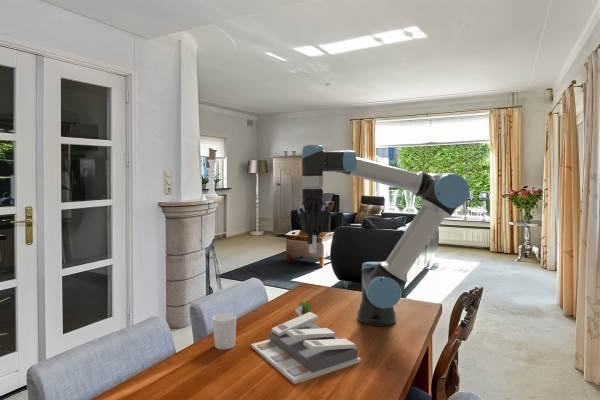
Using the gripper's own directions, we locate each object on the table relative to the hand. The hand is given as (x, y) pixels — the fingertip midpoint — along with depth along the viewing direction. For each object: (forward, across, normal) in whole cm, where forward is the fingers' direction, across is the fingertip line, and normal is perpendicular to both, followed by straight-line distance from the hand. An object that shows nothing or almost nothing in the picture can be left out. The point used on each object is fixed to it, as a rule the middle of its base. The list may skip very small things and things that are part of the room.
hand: (312, 252), depth 143 cm
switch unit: (+29, +13, +14) cm, 35 cm away
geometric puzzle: (+30, -4, -12) cm, 32 cm away
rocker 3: (+23, +10, +24) cm, 35 cm away
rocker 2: (+23, +10, +14) cm, 29 cm away
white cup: (+30, +32, -6) cm, 44 cm away
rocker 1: (+23, +10, +4) cm, 26 cm away
